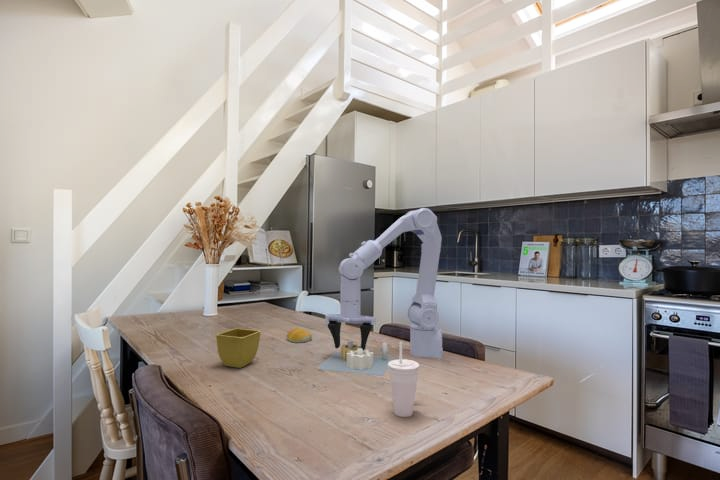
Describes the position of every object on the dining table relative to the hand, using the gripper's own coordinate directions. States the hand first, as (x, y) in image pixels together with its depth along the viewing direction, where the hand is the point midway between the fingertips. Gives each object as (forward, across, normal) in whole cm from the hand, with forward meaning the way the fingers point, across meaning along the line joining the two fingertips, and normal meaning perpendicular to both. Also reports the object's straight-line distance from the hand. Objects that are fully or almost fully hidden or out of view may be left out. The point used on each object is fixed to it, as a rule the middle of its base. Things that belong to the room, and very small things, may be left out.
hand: (350, 348), depth 106 cm
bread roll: (+4, -25, +19) cm, 32 cm away
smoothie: (+4, +20, -27) cm, 34 cm away
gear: (+3, +4, -6) cm, 8 cm away
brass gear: (+3, 0, 0) cm, 3 cm away
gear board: (+4, +3, -3) cm, 6 cm away
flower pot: (+4, -29, -11) cm, 31 cm away
